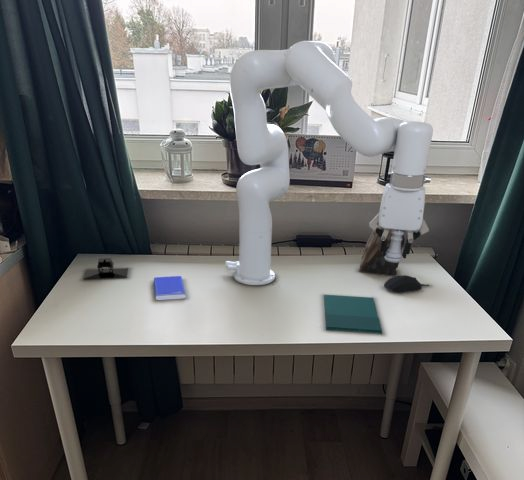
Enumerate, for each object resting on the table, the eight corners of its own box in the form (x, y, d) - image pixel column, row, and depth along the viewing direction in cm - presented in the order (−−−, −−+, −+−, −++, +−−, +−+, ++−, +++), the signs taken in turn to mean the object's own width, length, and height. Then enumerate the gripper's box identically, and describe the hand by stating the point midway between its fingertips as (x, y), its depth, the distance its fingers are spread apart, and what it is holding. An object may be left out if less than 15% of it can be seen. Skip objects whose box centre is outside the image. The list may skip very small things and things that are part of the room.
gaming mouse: (434, 290, 151) (437, 277, 149) (389, 294, 148) (392, 282, 146) (423, 281, 157) (425, 269, 154) (379, 285, 153) (381, 273, 151)
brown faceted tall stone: (370, 258, 171) (380, 199, 161) (407, 267, 166) (419, 206, 156) (356, 270, 162) (365, 208, 152) (395, 280, 157) (407, 216, 146)
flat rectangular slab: (326, 329, 129) (326, 327, 128) (324, 295, 146) (324, 293, 145) (381, 333, 128) (382, 330, 127) (373, 298, 145) (373, 296, 144)
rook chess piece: (402, 264, 125) (408, 232, 120) (383, 262, 125) (388, 230, 121) (401, 257, 128) (407, 226, 124) (383, 255, 129) (388, 225, 125)
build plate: (84, 280, 150) (81, 265, 147) (87, 270, 156) (84, 256, 153) (127, 278, 152) (125, 263, 149) (128, 268, 158) (126, 254, 155)
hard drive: (185, 293, 140) (181, 275, 151) (155, 295, 139) (153, 277, 149) (185, 298, 141) (181, 280, 151) (155, 300, 140) (154, 282, 150)
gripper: (442, 179, 119) (427, 253, 128) (369, 174, 121) (360, 247, 131) (446, 187, 112) (429, 264, 122) (369, 181, 115) (359, 257, 124)
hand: (393, 254), depth 126 cm, fingers closed on rook chess piece, 4 cm apart
